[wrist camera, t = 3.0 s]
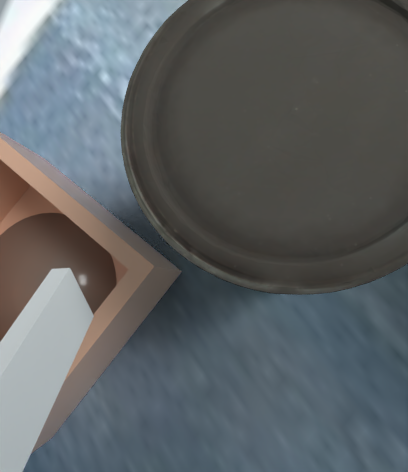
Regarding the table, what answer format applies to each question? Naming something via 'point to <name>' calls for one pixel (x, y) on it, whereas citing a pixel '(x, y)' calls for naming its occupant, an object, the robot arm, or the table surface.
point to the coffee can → (275, 140)
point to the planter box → (72, 265)
